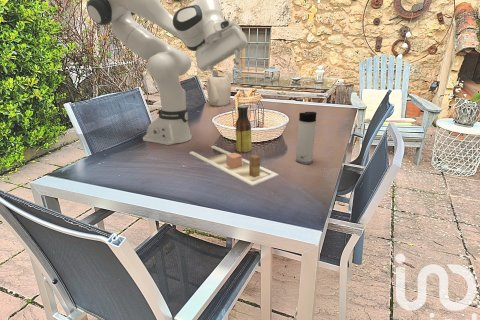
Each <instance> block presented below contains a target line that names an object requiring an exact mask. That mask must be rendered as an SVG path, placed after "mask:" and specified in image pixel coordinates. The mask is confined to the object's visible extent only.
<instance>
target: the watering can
mask: <svg viewBox="0 0 480 320" xmlns="http://www.w3.org/2000/svg"><path fill="white" fill-rule="evenodd" d="M206 80H207V81H206V92H207V98H208V101H209V104H210V105H212V106H213V107H214V106H217V107H221V106H222V107H223V106H227V105H229V103H230V101H231V95H232V82H231V79H230V77H229V75H227V74H218V76H217V77H213V76H212V75H210V76H208V78H207V79H206Z"/></svg>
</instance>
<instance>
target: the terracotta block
mask: <svg viewBox="0 0 480 320" xmlns="http://www.w3.org/2000/svg"><path fill="white" fill-rule="evenodd" d="M231 153H232V154H228V155H226V154H225V155H226V159H227V166H229V167H231V168H233V169H234V168H237V167H239V166H242V163H243V162H242V158H243V155H241V154H239V153H237V152H231Z"/></svg>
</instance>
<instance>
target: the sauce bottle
mask: <svg viewBox="0 0 480 320" xmlns="http://www.w3.org/2000/svg"><path fill="white" fill-rule="evenodd" d="M248 110H249V107H248V105H243V104H241V105H238V106H237V119H236V121H235V139H236V140H235V141H236V142H235V143H236V151H237V152H239V153H243V154H244V153H250V152H252V144H253V143H252V126H251V122H250V119H249V117H248V116H249V115H248Z"/></svg>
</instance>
